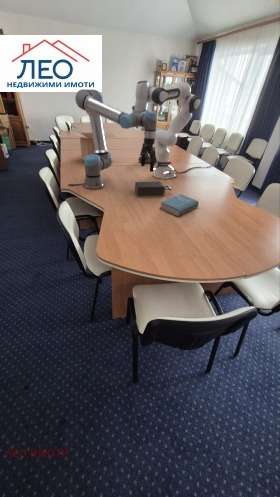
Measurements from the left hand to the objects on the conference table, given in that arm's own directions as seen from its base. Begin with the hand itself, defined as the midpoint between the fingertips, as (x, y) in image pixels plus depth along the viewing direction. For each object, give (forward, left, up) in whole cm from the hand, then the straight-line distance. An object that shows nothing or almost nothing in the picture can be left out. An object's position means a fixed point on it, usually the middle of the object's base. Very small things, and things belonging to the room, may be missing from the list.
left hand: (147, 168), depth 165 cm
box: (-70, +63, -19) cm, 96 cm away
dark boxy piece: (+3, -2, -19) cm, 19 cm away
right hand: (-12, +21, +23) cm, 33 cm away
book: (+29, -20, -19) cm, 39 cm away
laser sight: (-14, +82, -19) cm, 85 cm away
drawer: (+8, 0, -18) cm, 19 cm away
